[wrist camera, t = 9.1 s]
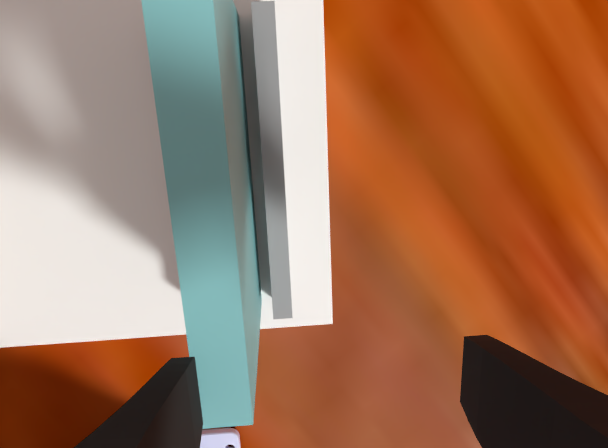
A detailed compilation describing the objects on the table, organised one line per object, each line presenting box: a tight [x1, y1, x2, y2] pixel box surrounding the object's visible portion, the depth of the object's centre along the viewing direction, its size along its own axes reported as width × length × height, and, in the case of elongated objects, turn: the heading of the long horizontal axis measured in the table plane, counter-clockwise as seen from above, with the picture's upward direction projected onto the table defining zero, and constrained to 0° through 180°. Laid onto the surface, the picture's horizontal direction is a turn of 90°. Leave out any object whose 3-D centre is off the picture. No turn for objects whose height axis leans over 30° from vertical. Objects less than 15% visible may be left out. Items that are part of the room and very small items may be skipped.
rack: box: [0, 0, 333, 348], centre depth 17 cm, size 15×24×4 cm, turn 93°
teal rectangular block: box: [141, 0, 262, 429], centre depth 14 cm, size 12×2×8 cm, turn 3°
